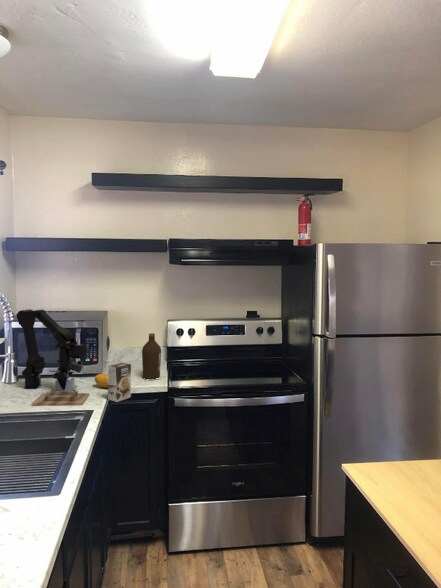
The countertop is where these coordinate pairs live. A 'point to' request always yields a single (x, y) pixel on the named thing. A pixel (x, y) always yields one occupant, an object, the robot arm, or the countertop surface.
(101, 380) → the potato
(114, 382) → the coffee box
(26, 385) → the robot arm
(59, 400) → the brown wooden board
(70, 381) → the block
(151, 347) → the olive oil
